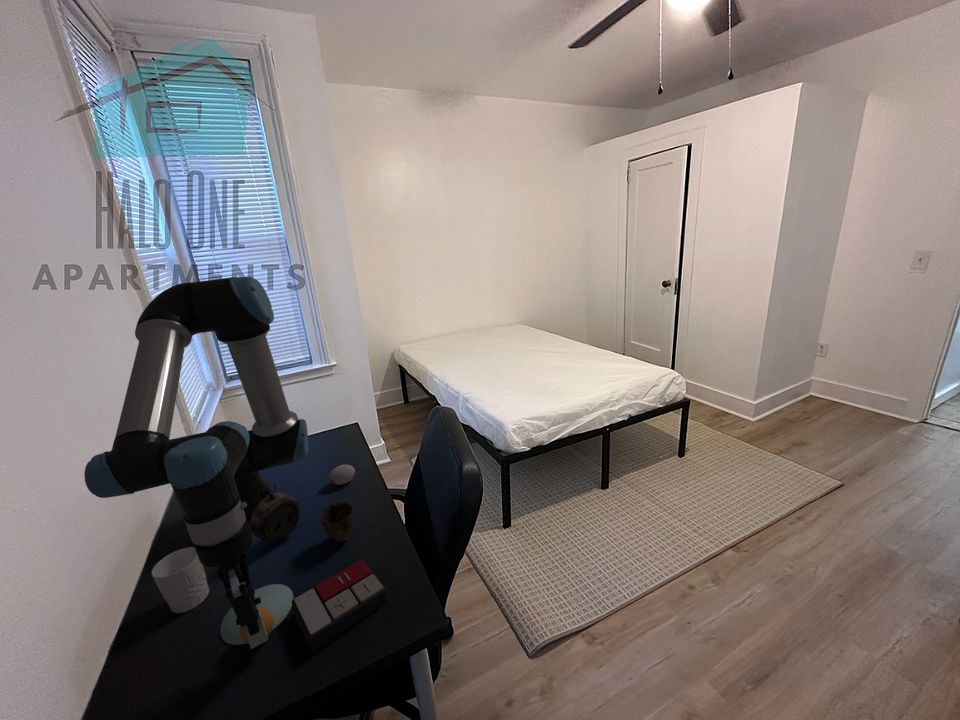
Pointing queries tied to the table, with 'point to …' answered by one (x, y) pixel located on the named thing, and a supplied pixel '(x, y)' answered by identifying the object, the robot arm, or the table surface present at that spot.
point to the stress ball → (342, 474)
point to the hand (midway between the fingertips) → (259, 641)
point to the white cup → (181, 580)
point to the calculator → (338, 604)
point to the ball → (267, 621)
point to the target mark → (271, 598)
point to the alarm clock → (275, 517)
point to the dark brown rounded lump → (338, 521)
